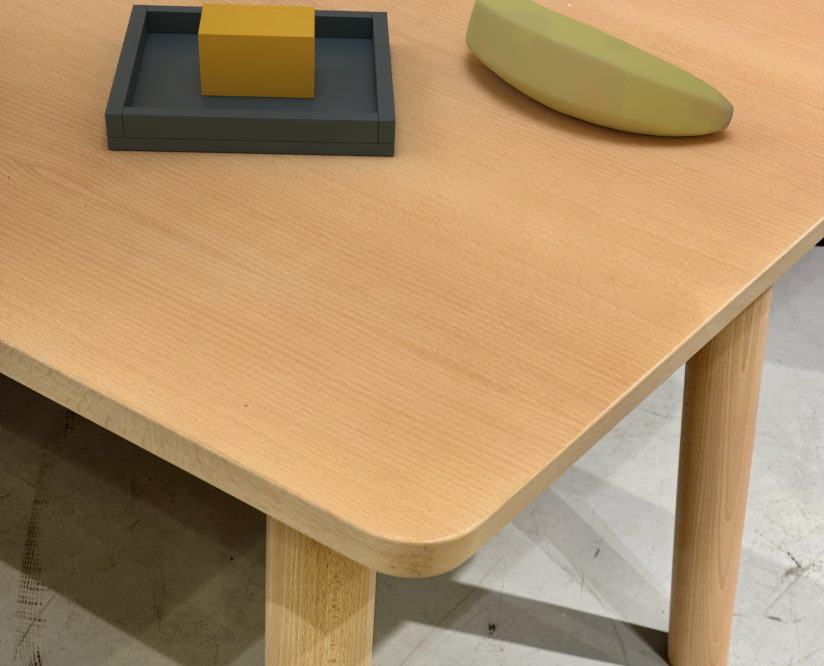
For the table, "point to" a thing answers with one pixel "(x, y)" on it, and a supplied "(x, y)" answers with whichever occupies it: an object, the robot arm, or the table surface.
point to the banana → (591, 72)
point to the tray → (252, 116)
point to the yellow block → (257, 50)
